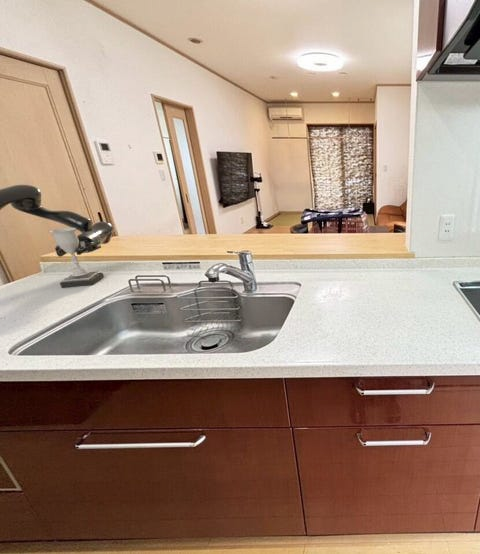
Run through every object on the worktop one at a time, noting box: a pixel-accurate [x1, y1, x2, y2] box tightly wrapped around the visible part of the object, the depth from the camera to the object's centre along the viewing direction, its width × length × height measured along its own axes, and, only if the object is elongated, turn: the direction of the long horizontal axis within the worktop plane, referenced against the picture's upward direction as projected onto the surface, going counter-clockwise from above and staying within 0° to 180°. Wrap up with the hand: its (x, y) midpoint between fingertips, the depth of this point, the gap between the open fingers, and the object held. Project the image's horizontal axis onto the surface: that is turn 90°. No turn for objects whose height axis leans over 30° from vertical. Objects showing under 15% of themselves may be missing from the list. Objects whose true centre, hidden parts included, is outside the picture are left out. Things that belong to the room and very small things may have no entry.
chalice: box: [49, 227, 90, 276], centre depth 116 cm, size 7×7×18 cm
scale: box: [59, 270, 105, 289], centre depth 120 cm, size 10×9×3 cm
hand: (68, 253), depth 113 cm, fingers closed on chalice, 5 cm apart
